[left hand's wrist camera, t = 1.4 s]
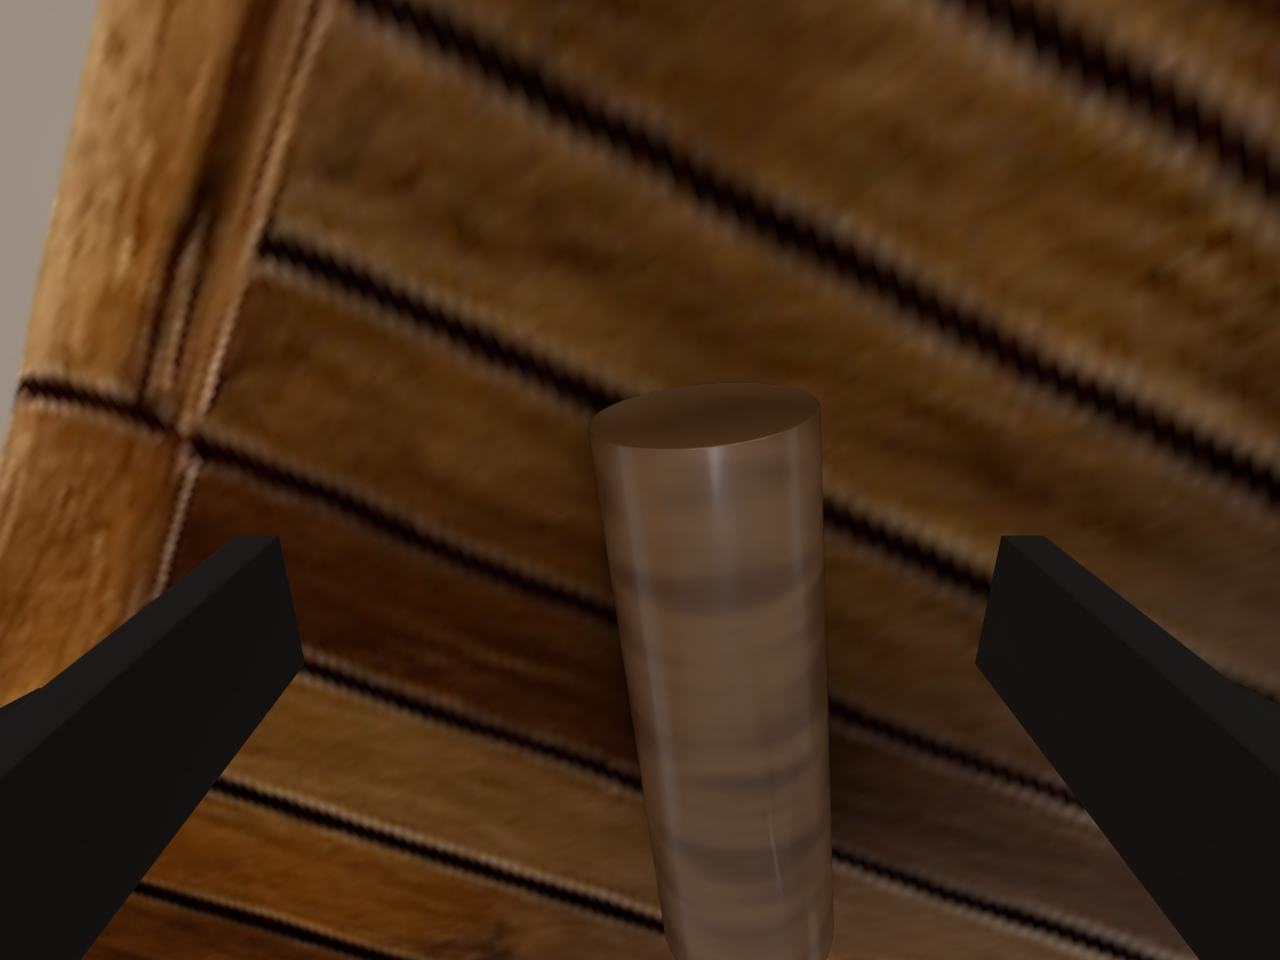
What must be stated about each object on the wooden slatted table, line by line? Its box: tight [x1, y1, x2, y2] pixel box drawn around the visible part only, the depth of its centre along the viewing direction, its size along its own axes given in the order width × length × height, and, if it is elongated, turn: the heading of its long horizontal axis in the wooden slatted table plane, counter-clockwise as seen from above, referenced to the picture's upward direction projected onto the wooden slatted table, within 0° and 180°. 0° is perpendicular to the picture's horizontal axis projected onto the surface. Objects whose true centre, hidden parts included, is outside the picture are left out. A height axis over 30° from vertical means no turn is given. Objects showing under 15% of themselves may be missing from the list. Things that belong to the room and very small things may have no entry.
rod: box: [588, 383, 834, 960], centre depth 27 cm, size 24×8×8 cm, turn 7°
